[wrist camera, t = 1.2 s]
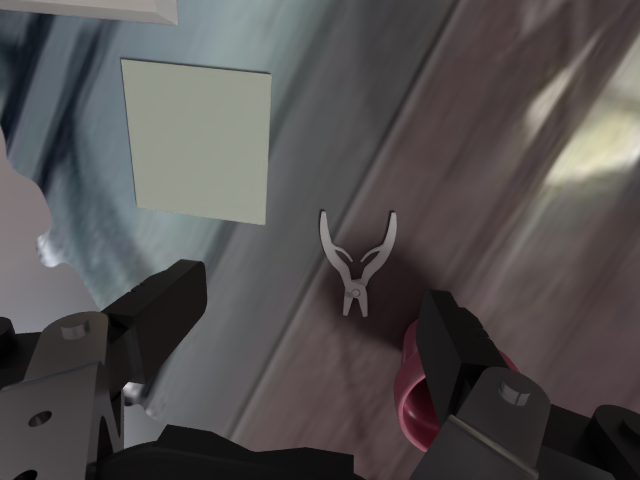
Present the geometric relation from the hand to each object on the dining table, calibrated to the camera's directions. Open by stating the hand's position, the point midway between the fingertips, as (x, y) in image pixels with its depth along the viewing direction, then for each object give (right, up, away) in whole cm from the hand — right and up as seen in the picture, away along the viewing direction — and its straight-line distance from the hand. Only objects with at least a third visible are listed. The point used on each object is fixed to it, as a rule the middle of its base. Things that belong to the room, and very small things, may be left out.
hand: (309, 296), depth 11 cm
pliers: (+5, -1, +31) cm, 31 cm away
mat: (-15, +14, +27) cm, 34 cm away
